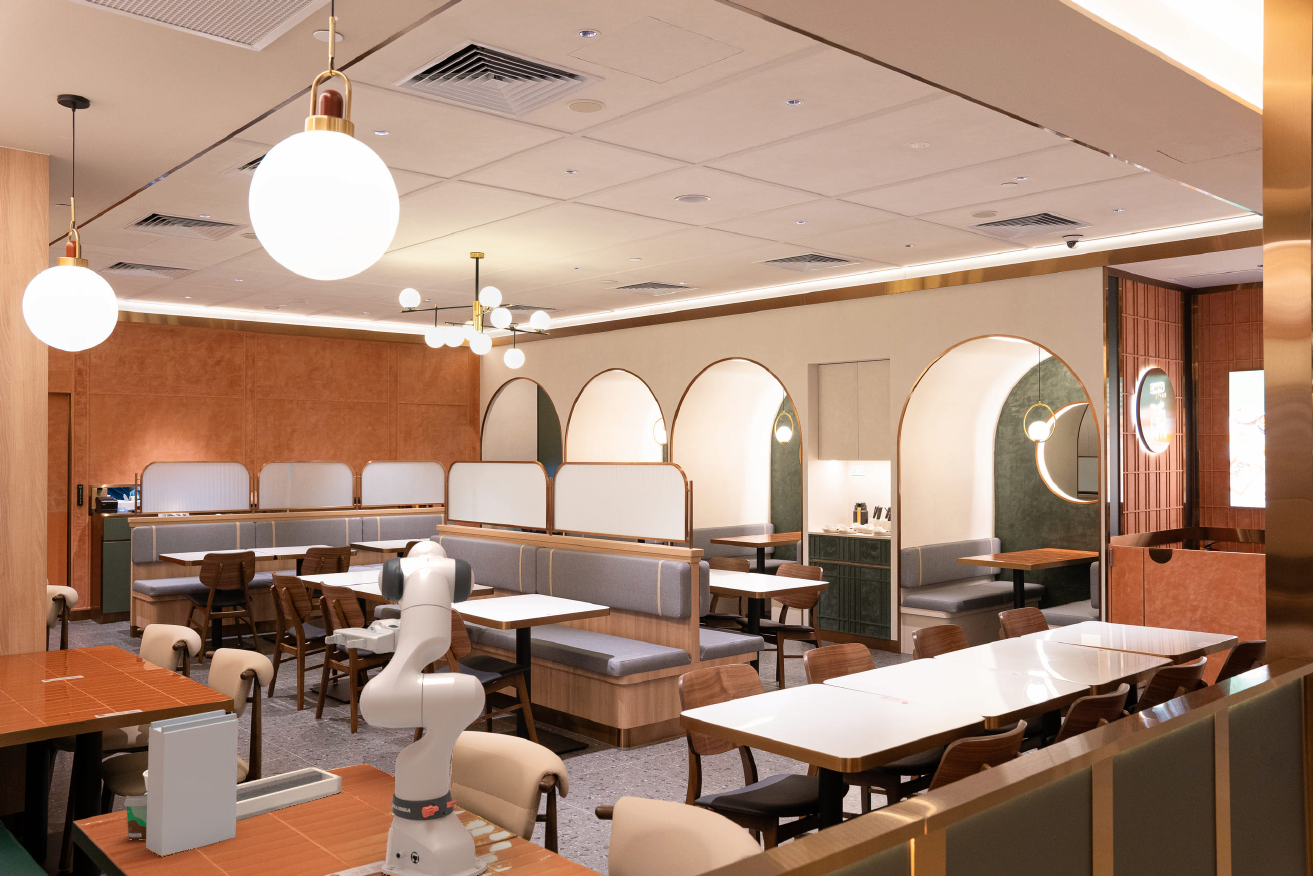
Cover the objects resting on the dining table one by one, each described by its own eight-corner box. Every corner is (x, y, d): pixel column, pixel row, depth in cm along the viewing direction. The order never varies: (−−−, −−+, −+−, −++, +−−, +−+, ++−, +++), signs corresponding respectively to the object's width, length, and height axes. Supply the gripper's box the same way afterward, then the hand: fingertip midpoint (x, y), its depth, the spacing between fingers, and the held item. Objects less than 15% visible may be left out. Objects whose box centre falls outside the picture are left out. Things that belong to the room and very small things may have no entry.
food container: (144, 846, 212) (145, 799, 213) (122, 842, 214) (124, 796, 215) (188, 827, 224) (189, 783, 224) (167, 824, 226) (168, 780, 226)
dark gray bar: (230, 795, 232) (230, 810, 232) (322, 773, 251) (321, 787, 250) (224, 792, 235) (223, 807, 235) (315, 770, 253) (314, 784, 253)
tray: (341, 793, 249) (341, 777, 249) (221, 825, 225) (221, 807, 226) (312, 782, 258) (313, 766, 258) (194, 811, 234) (195, 794, 235)
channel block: (235, 837, 218) (238, 714, 219) (161, 857, 206) (164, 728, 207) (219, 828, 223) (221, 709, 224) (145, 848, 211) (149, 721, 212)
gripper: (361, 621, 270) (315, 626, 259) (404, 628, 256) (358, 634, 246) (360, 643, 269) (315, 650, 259) (404, 652, 256) (357, 659, 245)
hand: (336, 642), depth 252 cm, fingers open, 8 cm apart
